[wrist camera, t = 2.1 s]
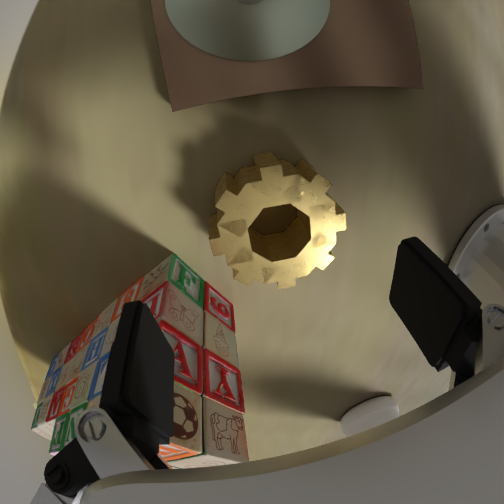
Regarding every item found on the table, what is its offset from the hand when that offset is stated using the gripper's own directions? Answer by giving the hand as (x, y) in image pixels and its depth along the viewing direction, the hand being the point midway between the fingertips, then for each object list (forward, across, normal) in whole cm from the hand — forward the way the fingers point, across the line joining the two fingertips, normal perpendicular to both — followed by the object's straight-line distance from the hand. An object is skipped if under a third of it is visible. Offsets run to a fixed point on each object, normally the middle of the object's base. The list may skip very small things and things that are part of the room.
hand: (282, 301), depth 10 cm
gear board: (+8, -4, -16) cm, 18 cm away
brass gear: (+8, -1, 0) cm, 8 cm away
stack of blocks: (+9, +13, +10) cm, 19 cm away
